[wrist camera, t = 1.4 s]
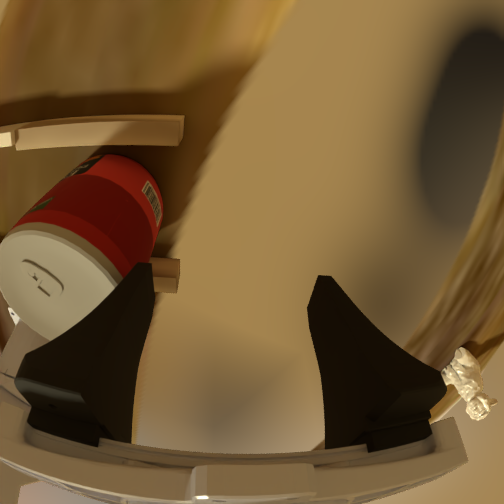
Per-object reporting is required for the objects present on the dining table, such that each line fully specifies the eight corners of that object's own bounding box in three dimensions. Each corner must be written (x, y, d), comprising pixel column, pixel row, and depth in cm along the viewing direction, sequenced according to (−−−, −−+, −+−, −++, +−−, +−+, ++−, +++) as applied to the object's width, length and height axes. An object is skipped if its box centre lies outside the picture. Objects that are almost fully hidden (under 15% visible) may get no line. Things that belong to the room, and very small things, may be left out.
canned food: (93, 131, 18) (1, 198, 9) (185, 186, 21) (159, 289, 12) (59, 213, 21) (-10, 306, 12) (139, 259, 24) (105, 369, 15)
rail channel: (180, 273, 26) (176, 293, 24) (55, 263, 24) (44, 280, 22) (184, 115, 18) (179, 121, 16) (32, 121, 17) (14, 130, 15)
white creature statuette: (459, 344, 38) (491, 404, 28) (485, 342, 40) (515, 395, 30) (426, 380, 43) (450, 437, 33) (454, 376, 45) (478, 426, 35)
